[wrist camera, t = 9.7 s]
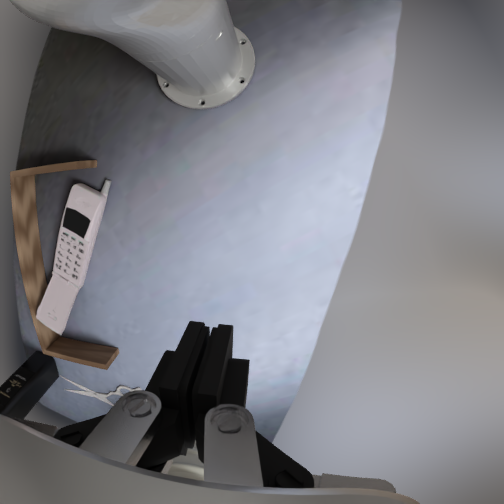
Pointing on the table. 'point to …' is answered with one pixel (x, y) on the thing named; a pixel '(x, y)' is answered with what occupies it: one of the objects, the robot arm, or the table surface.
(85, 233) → the mobile phone
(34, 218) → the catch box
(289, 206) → the table surface
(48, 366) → the wine bottle
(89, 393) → the scissors
